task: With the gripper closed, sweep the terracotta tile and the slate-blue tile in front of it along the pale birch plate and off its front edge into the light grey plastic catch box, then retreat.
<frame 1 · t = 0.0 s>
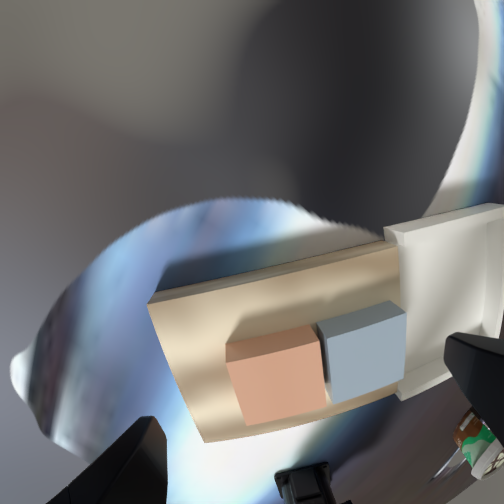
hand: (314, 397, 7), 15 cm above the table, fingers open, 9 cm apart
slate tile: (356, 345, 21), point 2 cm above the table, touching birch plate
food container: (462, 430, 30), on the table
terracotta tile: (275, 368, 21), point 2 cm above the table, touching birch plate
birch plate: (288, 347, 23), on the table
catch box: (446, 295, 24), on the table
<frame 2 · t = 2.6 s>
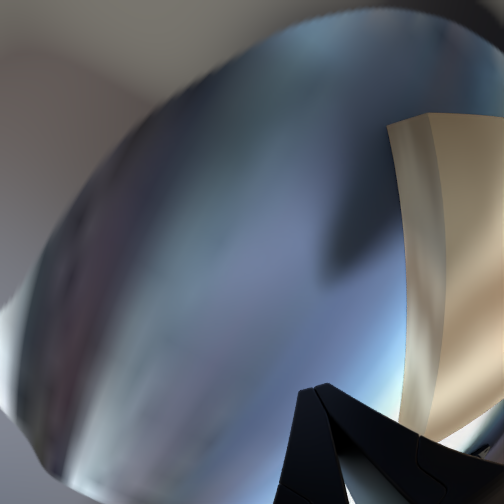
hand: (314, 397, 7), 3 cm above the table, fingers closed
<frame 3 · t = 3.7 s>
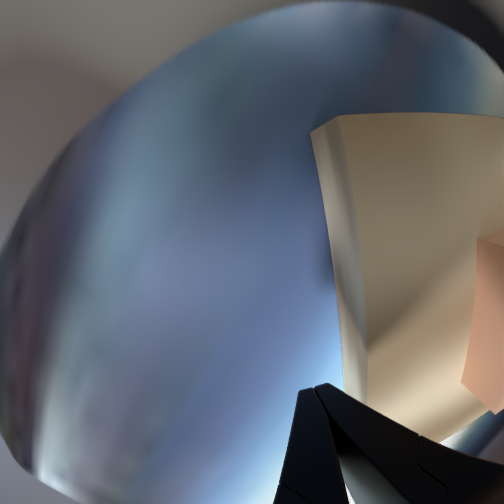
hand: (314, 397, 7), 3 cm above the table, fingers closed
birch plate: (496, 270, 11), on the table
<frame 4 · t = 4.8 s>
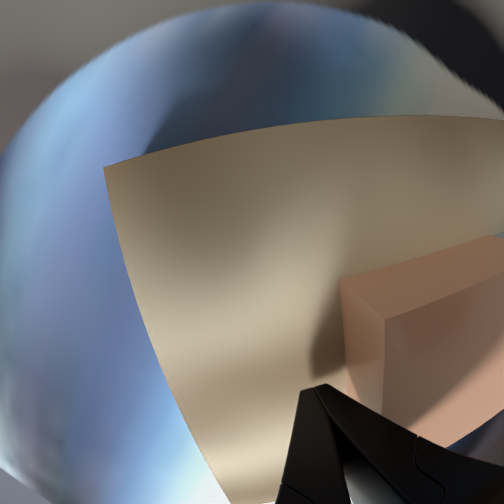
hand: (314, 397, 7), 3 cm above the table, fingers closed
terracotta tile: (427, 341, 8), point 3 cm above the table, touching gripper, slate tile
birch plate: (410, 307, 11), on the table
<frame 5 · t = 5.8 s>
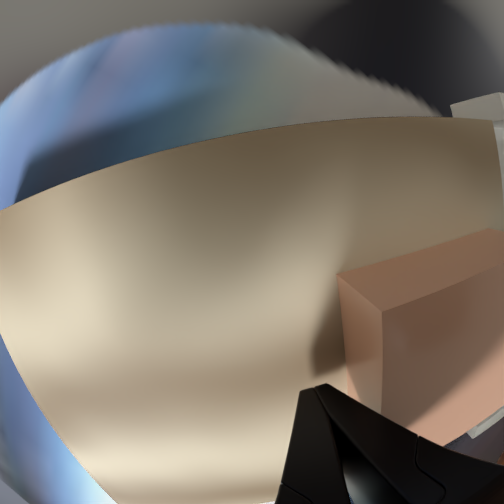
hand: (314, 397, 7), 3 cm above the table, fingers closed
terracotta tile: (427, 336, 8), point 3 cm above the table, touching gripper
birch plate: (270, 348, 10), on the table
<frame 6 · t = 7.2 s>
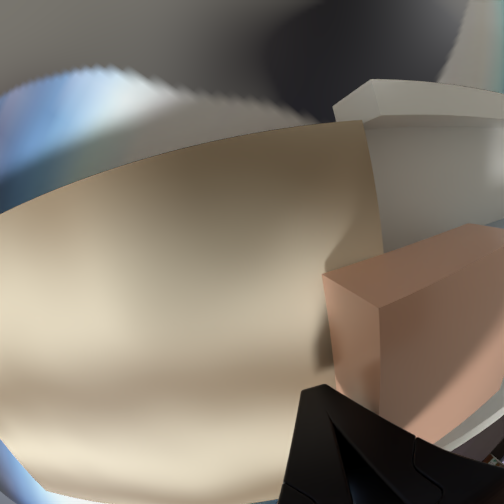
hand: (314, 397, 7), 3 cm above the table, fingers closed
food container: (476, 476, 17), on the table
terracotta tile: (413, 332, 8), point 2 cm above the table, tilted 7°, touching birch plate, gripper
birch plate: (131, 370, 10), on the table
catch box: (482, 277, 11), on the table
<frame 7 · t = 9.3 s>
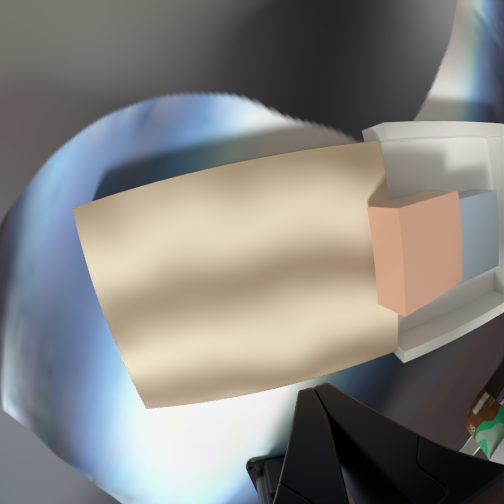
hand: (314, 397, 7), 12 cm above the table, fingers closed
slate tile: (456, 231, 19), resting on catch box, touching terracotta tile
food container: (474, 415, 26), on the table
terracotta tile: (407, 244, 17), point 2 cm above the table, tilted 13°, touching birch plate, slate tile
birch plate: (248, 278, 19), on the table
catch box: (450, 228, 19), on the table
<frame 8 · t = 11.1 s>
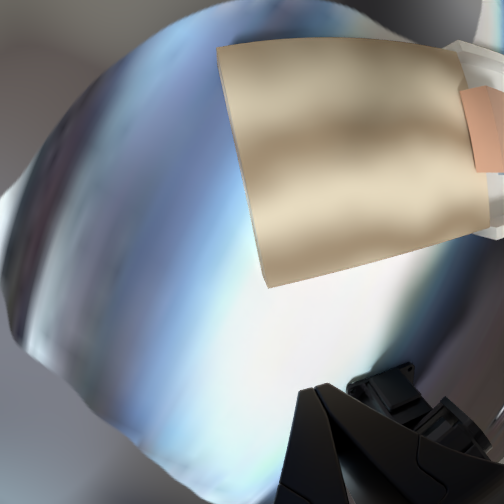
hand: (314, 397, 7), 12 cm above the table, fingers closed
terracotta tile: (485, 131, 16), point 2 cm above the table, tilted 13°, touching birch plate, slate tile
birch plate: (372, 145, 18), on the table
catch box: (503, 139, 18), on the table
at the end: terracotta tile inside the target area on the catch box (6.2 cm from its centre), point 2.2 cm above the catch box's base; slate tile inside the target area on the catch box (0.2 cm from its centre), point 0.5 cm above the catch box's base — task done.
